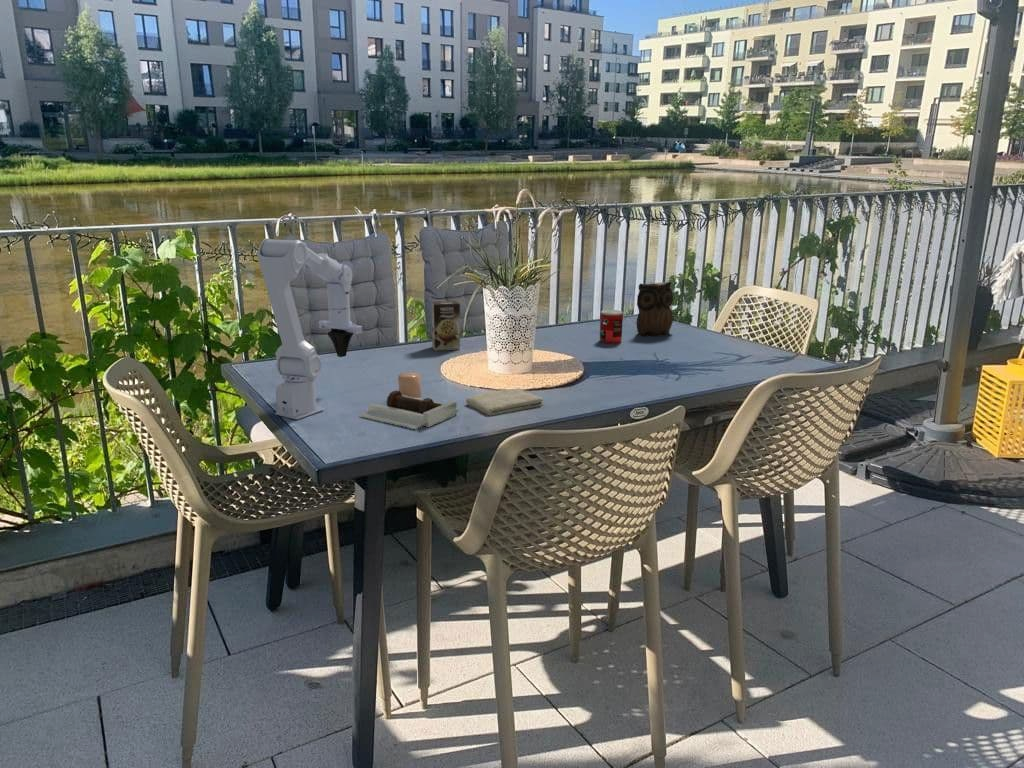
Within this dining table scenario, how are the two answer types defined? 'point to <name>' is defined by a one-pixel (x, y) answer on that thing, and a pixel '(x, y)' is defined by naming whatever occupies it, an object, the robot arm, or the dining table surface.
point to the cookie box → (446, 325)
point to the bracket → (410, 414)
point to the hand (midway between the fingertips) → (341, 356)
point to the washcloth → (504, 401)
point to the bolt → (410, 403)
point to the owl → (654, 309)
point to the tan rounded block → (410, 384)
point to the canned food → (611, 326)
